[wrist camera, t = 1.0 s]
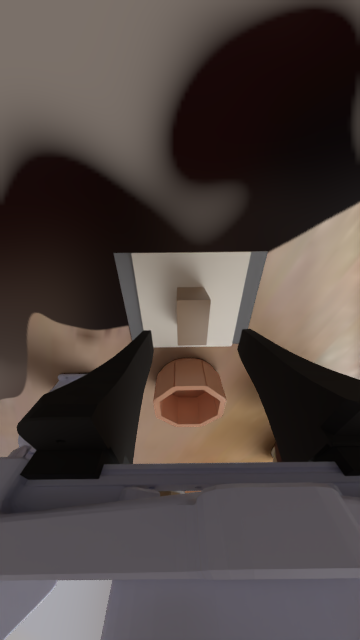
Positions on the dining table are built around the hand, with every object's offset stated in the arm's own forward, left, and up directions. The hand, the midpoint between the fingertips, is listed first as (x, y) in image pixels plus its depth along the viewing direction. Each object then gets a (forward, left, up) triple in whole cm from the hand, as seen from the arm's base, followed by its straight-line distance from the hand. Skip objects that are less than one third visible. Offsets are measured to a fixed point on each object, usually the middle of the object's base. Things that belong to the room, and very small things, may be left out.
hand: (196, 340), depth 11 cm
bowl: (0, -14, -8) cm, 16 cm away
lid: (0, 0, -7) cm, 7 cm away
